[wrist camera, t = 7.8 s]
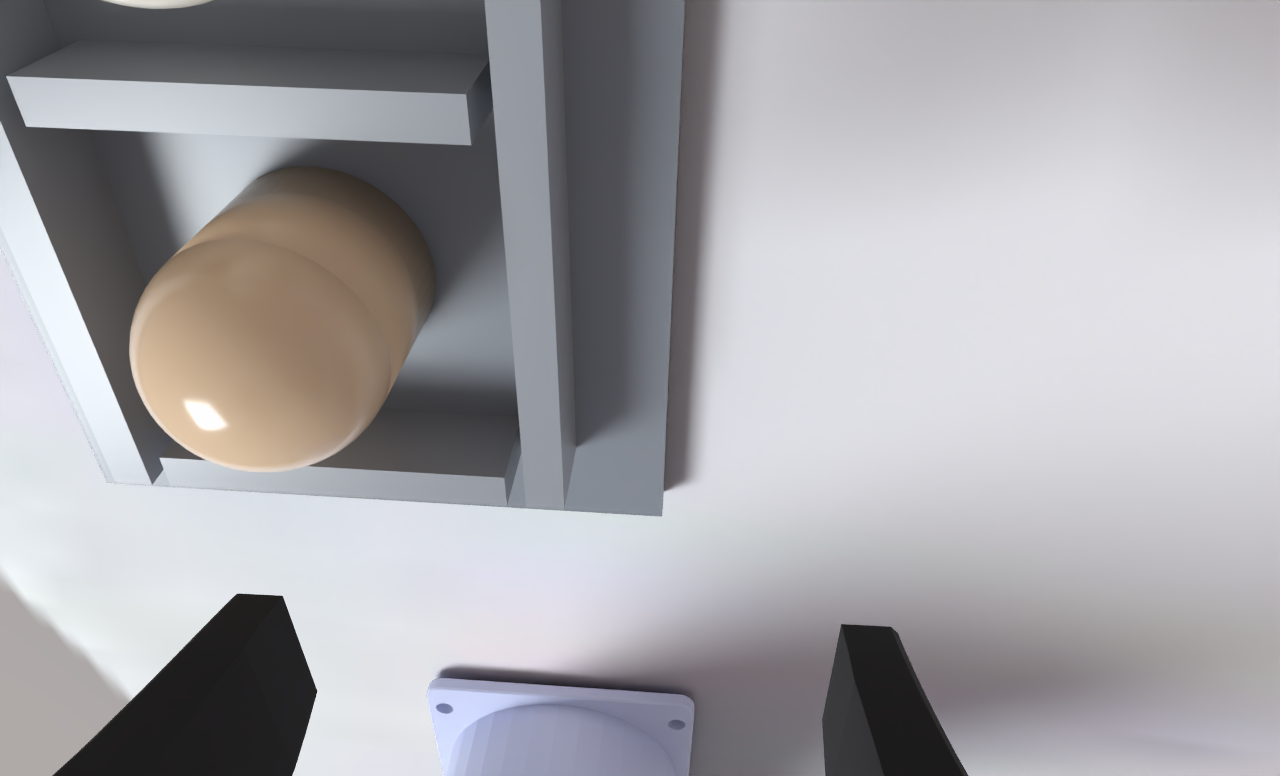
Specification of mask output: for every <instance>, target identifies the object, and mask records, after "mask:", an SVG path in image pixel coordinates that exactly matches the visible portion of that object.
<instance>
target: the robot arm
mask: <svg viewBox="0 0 1280 776" xmlns="http://www.w3.org/2000/svg"><path fill="white" fill-rule="evenodd" d="M316 694H317V689H316V687H315V684H314V681H313V678H312V676H311V673H310V670H309V667H308V665H307V662H306V659H305V656H304V654H303V651H302V648H301V645H300V643H299V640H298V637H297V634H296V632H295V629H294V626H293V623H292V620H291V618H290V615H289V612H288V609H287V607H286V604H285V601H284V598H283V596H274V595H254V594H236V595H235V596H234V597H233V598H232V599H231V600H230V601H229V602H228V603H227V604H226V605H225V606H224V607H223V608H222V609H221V610H220V611H219V612H218V613H217V614H216V615H215V616H214V617H213V618H212V619H211V620H210V621H209V622H208V623H207V624H206V625H205V626H204V627H203V628H202V629H201V630H200V631H199V632H198V633H197V634H196V635H195V636H194V637H193V638H192V640H191V641H190V642H189V643H188V644H187V645H186V646H185V647H184V648H183V649H182V650H181V651H180V652H179V653H178V654H177V655H176V656H175V657H174V658H173V659H172V660H171V661H170V662H169V663H168V664H167V665H166V666H165V667H164V668H163V669H162V670H161V671H160V672H159V673H158V674H157V675H156V676H155V677H154V678H153V679H152V680H151V681H150V682H149V683H148V684H147V685H146V686H145V687H144V688H143V689H142V690H141V691H140V692H139V693H138V694H137V695H136V696H135V697H134V698H133V699H132V700H131V701H130V702H129V703H128V704H127V705H126V706H125V707H124V708H123V709H122V710H121V711H120V712H119V713H118V714H117V715H116V716H115V717H114V718H113V719H112V720H111V721H110V722H109V723H108V724H107V725H106V726H105V727H104V728H103V729H102V730H101V731H100V732H99V733H98V734H97V735H96V736H95V737H94V738H93V739H91V740H90V741H89V742H88V743H87V744H86V745H85V746H84V747H83V748H82V749H81V750H80V751H79V752H78V753H77V754H76V755H75V756H73V758H71V759H70V760H69V761H68V762H67V763H66V764H65V765H64V766H63V767H61V768H60V770H58V771H57V772H56V773H55V774H54V775H53V776H292V774H293V772H294V769H295V766H296V763H297V760H298V757H299V753H300V750H301V747H302V743H303V740H304V737H305V734H306V730H307V726H308V723H309V719H310V716H311V712H312V708H313V705H314V701H315V698H316ZM427 700H428V705H429V710H430V715H431V719H432V724H433V729H434V734H435V738H436V743H437V748H438V753H439V757H440V762H441V767H442V772H443V776H689V767H690V756H691V745H692V734H693V723H694V702H693V701H692V700H691V699H690V698H689V697H687V696H685V695H680V694H669V693H654V692H640V691H625V690H611V689H596V688H582V687H567V686H553V685H538V684H524V683H509V682H495V681H480V680H466V679H451V678H438V679H435V680H433V681H432V682H431V683H430V684H429V687H428V691H427ZM822 723H823V740H824V758H825V774H826V776H968V774H967V772H966V771H965V769H964V767H963V765H962V764H961V762H960V760H959V758H958V757H957V755H956V753H955V751H954V749H953V747H952V745H951V744H950V742H949V740H948V738H947V736H946V734H945V732H944V730H943V728H942V726H941V725H940V723H939V721H938V719H937V717H936V715H935V713H934V711H933V709H932V707H931V705H930V703H929V701H928V699H927V697H926V695H925V693H924V691H923V689H922V687H921V685H920V682H919V680H918V678H917V676H916V674H915V672H914V670H913V667H912V665H911V663H910V661H909V658H908V656H907V654H906V652H905V649H904V647H903V645H902V642H901V640H900V637H899V635H898V633H897V632H896V631H895V630H894V629H892V628H891V627H884V626H864V625H845V624H841V629H840V634H839V639H838V644H837V649H836V654H835V659H834V664H833V669H832V674H831V679H830V684H829V689H828V694H827V699H826V704H825V709H824V714H823V719H822Z"/></svg>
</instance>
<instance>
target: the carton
mask: <svg viewBox="0 0 1280 776" xmlns="http://www.w3.org/2000/svg"><path fill="white" fill-rule="evenodd" d="M684 17H685V0H212V1H209V2H207V3H204V4H200V5H195V6H189V7H184V8H169V9H148V8H138V7H130V6H124V5H119V4H115V3H111V2H107V1H102V0H0V249H1V251H2V254H3V256H4V258H5V260H6V262H7V265H8V267H9V269H10V271H11V273H12V276H13V278H14V280H15V282H16V284H17V286H18V289H19V291H20V293H21V295H22V297H23V300H24V302H25V304H26V306H27V308H28V311H29V313H30V315H31V317H32V319H33V321H34V324H35V326H36V328H37V330H38V332H39V335H40V337H41V339H42V341H43V343H44V346H45V348H46V350H47V352H48V354H49V356H50V359H51V361H52V363H53V365H54V367H55V370H56V372H57V374H58V376H59V378H60V381H61V383H62V385H63V387H64V389H65V392H66V394H67V396H68V398H69V400H70V402H71V405H72V407H73V409H74V411H75V413H76V416H77V418H78V420H79V422H80V424H81V427H82V429H83V431H84V433H85V435H86V437H87V440H88V442H89V444H90V446H91V448H92V451H93V453H94V455H95V457H96V459H97V462H98V464H99V466H100V468H101V470H102V472H103V475H104V477H105V479H106V481H107V483H114V484H131V485H148V486H164V487H181V488H198V489H214V490H231V491H247V492H264V493H281V494H297V495H314V496H331V497H347V498H364V499H380V500H397V501H414V502H430V503H447V504H463V505H480V506H497V507H513V508H530V509H547V510H563V511H580V512H596V513H613V514H630V515H646V516H662V509H663V494H664V472H665V449H666V426H667V403H668V381H669V358H670V335H671V312H672V290H673V267H674V244H675V221H676V199H677V176H678V153H679V130H680V108H681V85H682V62H683V39H684ZM296 166H313V167H322V168H328V169H332V170H337V171H341V172H344V173H346V174H349V175H352V176H355V177H357V178H359V179H361V180H363V181H365V182H367V183H369V184H371V185H372V186H374V187H375V188H377V189H379V190H380V191H382V192H383V193H384V194H386V195H387V196H388V197H389V198H391V199H392V200H393V201H395V202H396V203H397V204H398V205H399V206H400V207H401V208H402V209H403V210H404V211H405V212H406V213H407V215H408V216H409V217H410V218H411V220H412V221H413V222H414V223H415V225H416V226H417V228H418V229H419V231H420V232H421V234H422V236H423V238H424V240H425V242H426V244H427V246H428V248H429V251H430V254H431V257H432V260H433V264H434V269H435V277H436V289H435V298H434V301H433V305H432V308H431V311H430V313H429V315H428V317H427V319H426V321H425V323H424V325H423V327H422V329H421V331H420V333H419V335H418V337H417V339H416V341H415V343H414V345H413V347H412V349H411V351H410V353H409V355H408V357H407V359H406V360H405V362H404V364H403V366H402V368H401V370H400V372H399V374H398V376H397V378H396V380H395V382H394V384H393V386H392V388H391V390H390V392H389V394H388V396H387V398H386V400H385V402H384V404H383V406H382V407H381V409H380V410H379V412H378V414H377V415H376V417H375V418H374V419H373V421H372V422H371V424H370V425H369V426H368V427H367V428H366V429H365V430H364V431H363V432H362V433H361V434H360V435H359V436H358V437H357V438H356V439H355V440H354V441H353V442H352V443H350V444H349V445H347V446H346V447H345V448H343V449H342V450H340V451H339V452H338V453H336V454H334V455H332V456H330V457H328V458H326V459H324V460H322V461H320V462H317V463H315V464H312V465H309V466H306V467H302V468H298V469H293V470H289V471H283V472H247V471H240V470H235V469H231V468H227V467H224V466H221V465H218V464H215V463H213V462H210V461H208V460H205V459H203V458H201V457H199V456H197V455H195V454H193V453H192V452H190V451H189V450H187V449H185V448H184V447H183V446H181V445H180V444H179V443H177V442H176V441H175V440H174V439H172V438H171V437H170V436H169V435H168V434H167V433H166V432H165V431H164V430H163V429H162V428H161V427H160V426H159V425H158V424H157V423H156V421H155V420H154V419H153V417H152V416H151V415H150V413H149V411H148V410H147V408H146V406H145V405H144V403H143V401H142V399H141V397H140V395H139V392H138V390H137V388H136V385H135V382H134V378H133V375H132V370H131V364H130V357H129V343H130V330H131V325H132V320H133V317H134V313H135V309H136V307H137V305H138V302H139V300H140V298H141V296H142V294H143V292H144V290H145V288H146V287H147V285H148V284H149V282H150V281H151V279H152V278H153V276H154V275H155V274H156V273H157V272H158V271H159V270H160V268H161V267H162V266H163V265H164V264H165V263H166V262H167V261H168V260H169V259H170V258H171V257H173V256H174V255H175V254H176V253H177V252H178V251H179V250H180V249H181V248H182V247H183V246H184V245H185V244H186V243H187V242H188V241H189V240H191V239H192V238H193V237H194V236H195V235H196V234H197V233H198V232H199V231H200V230H201V229H202V228H203V227H204V226H205V225H206V224H208V223H209V222H210V221H211V220H212V219H213V218H214V217H215V216H216V215H217V214H218V213H219V212H220V211H221V210H222V209H223V208H225V207H226V206H227V205H228V204H229V203H230V202H231V201H232V200H233V199H234V198H235V197H236V196H237V195H238V194H239V193H240V192H242V191H243V190H244V189H245V188H246V187H247V186H248V185H249V184H250V183H252V182H253V181H255V180H256V179H258V178H259V177H261V176H263V175H265V174H268V173H270V172H273V171H276V170H279V169H283V168H289V167H296Z"/></svg>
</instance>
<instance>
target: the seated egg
mask: <svg viewBox="0 0 1280 776" xmlns="http://www.w3.org/2000/svg"><path fill="white" fill-rule="evenodd" d="M102 1H107V2H111V3H115V4H119V5H124V6H130V7H138V8H148V9H169V8H184V7H189V6H195V5H200V4H204V3H207V2H209V1H212V0H102Z"/></svg>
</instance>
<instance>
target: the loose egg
mask: <svg viewBox="0 0 1280 776" xmlns="http://www.w3.org/2000/svg"><path fill="white" fill-rule="evenodd" d="M435 289H436V277H435V269H434V264H433V260H432V257H431V254H430V251H429V248H428V246H427V244H426V242H425V240H424V238H423V236H422V234H421V232H420V231H419V229H418V228H417V226H416V225H415V223H414V222H413V221H412V220H411V218H410V217H409V216H408V215H407V213H406V212H405V211H404V210H403V209H402V208H401V207H400V206H399V205H398V204H397V203H396V202H395V201H393V200H392V199H391V198H389V197H388V196H387V195H386V194H384V193H383V192H382V191H380V190H379V189H377V188H375V187H374V186H372V185H371V184H369V183H367V182H365V181H363V180H361V179H359V178H357V177H355V176H352V175H349V174H346V173H344V172H341V171H337V170H332V169H328V168H322V167H313V166H296V167H289V168H283V169H279V170H276V171H273V172H270V173H268V174H265V175H263V176H261V177H259V178H258V179H256V180H255V181H253V182H252V183H250V184H249V185H248V186H247V187H246V188H245V189H244V190H243V191H242V192H240V193H239V194H238V195H237V196H236V197H235V198H234V199H233V200H232V201H231V202H230V203H229V204H228V205H227V206H226V207H225V208H223V209H222V210H221V211H220V212H219V213H218V214H217V215H216V216H215V217H214V218H213V219H212V220H211V221H210V222H209V223H208V224H206V225H205V226H204V227H203V228H202V229H201V230H200V231H199V232H198V233H197V234H196V235H195V236H194V237H193V238H192V239H191V240H189V241H188V242H187V243H186V244H185V245H184V246H183V247H182V248H181V249H180V250H179V251H178V252H177V253H176V254H175V255H174V256H173V257H171V258H170V259H169V260H168V261H167V262H166V263H165V264H164V265H163V266H162V267H161V268H160V270H159V271H158V272H157V273H156V274H155V275H154V276H153V278H152V279H151V281H150V282H149V284H148V285H147V287H146V288H145V290H144V292H143V294H142V296H141V298H140V300H139V302H138V305H137V307H136V309H135V313H134V317H133V320H132V325H131V330H130V343H129V357H130V364H131V370H132V375H133V378H134V382H135V385H136V388H137V390H138V392H139V395H140V397H141V399H142V401H143V403H144V405H145V406H146V408H147V410H148V411H149V413H150V415H151V416H152V417H153V419H154V420H155V421H156V423H157V424H158V425H159V426H160V427H161V428H162V429H163V430H164V431H165V432H166V433H167V434H168V435H169V436H170V437H171V438H172V439H174V440H175V441H176V442H177V443H179V444H180V445H181V446H183V447H184V448H185V449H187V450H189V451H190V452H192V453H193V454H195V455H197V456H199V457H201V458H203V459H205V460H208V461H210V462H213V463H215V464H218V465H221V466H224V467H227V468H231V469H235V470H240V471H247V472H283V471H289V470H293V469H298V468H302V467H306V466H309V465H312V464H315V463H317V462H320V461H322V460H324V459H326V458H328V457H330V456H332V455H334V454H336V453H338V452H339V451H340V450H342V449H343V448H345V447H346V446H347V445H349V444H350V443H352V442H353V441H354V440H355V439H356V438H357V437H358V436H359V435H360V434H361V433H362V432H363V431H364V430H365V429H366V428H367V427H368V426H369V425H370V424H371V422H372V421H373V419H374V418H375V417H376V415H377V414H378V412H379V410H380V409H381V407H382V406H383V404H384V402H385V400H386V398H387V396H388V394H389V392H390V390H391V388H392V386H393V384H394V382H395V380H396V378H397V376H398V374H399V372H400V370H401V368H402V366H403V364H404V362H405V360H406V359H407V357H408V355H409V353H410V351H411V349H412V347H413V345H414V343H415V341H416V339H417V337H418V335H419V333H420V331H421V329H422V327H423V325H424V323H425V321H426V319H427V317H428V315H429V313H430V311H431V308H432V305H433V301H434V298H435Z"/></svg>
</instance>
